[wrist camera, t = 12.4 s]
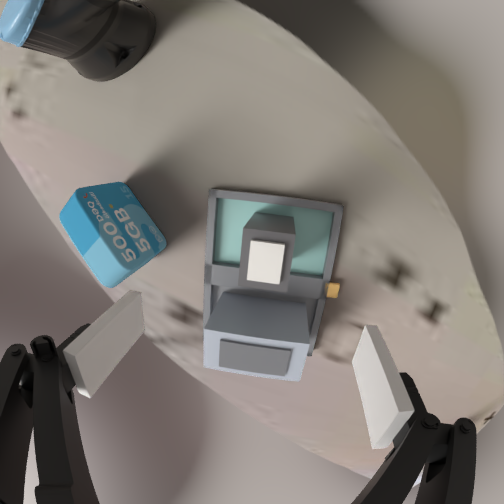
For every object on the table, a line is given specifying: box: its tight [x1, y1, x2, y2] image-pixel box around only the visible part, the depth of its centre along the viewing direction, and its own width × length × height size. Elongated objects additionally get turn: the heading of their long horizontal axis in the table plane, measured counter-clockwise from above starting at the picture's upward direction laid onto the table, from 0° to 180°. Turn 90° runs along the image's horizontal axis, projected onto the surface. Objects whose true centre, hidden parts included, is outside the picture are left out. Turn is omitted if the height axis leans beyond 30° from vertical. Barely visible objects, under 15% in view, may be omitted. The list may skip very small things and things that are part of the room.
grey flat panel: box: [203, 188, 344, 356], centre depth 37 cm, size 23×18×2 cm
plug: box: [238, 212, 296, 293], centre depth 31 cm, size 6×5×10 cm
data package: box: [59, 182, 166, 288], centre depth 33 cm, size 12×4×12 cm, turn 36°
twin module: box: [204, 292, 310, 381], centre depth 35 cm, size 6×12×10 cm, turn 84°
